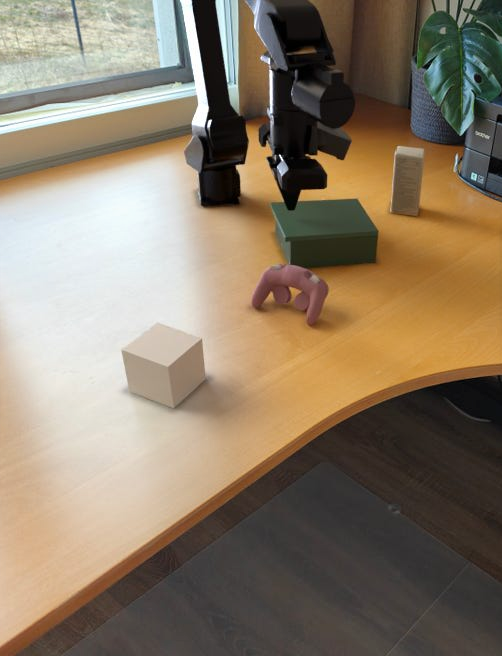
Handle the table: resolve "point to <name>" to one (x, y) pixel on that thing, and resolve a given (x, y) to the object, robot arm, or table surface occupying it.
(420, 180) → the box
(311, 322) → the video game controller
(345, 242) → the toy chest
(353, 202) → the lid
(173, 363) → the beige cube block
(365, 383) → the table surface
